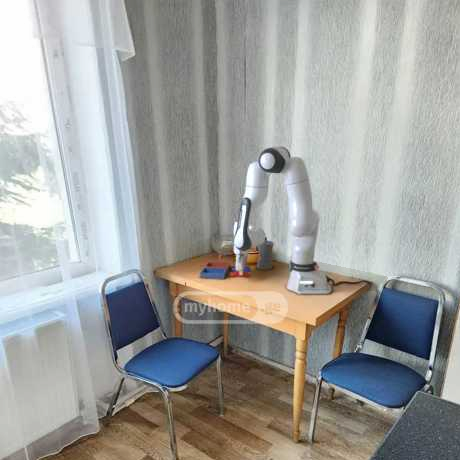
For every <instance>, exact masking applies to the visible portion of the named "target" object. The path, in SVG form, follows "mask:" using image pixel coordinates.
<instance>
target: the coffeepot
mask: <svg viewBox="0 0 460 460" xmlns="http://www.w3.org/2000/svg"><path fill="white" fill-rule="evenodd" d="M255 248H256V252H257V251H258V252H259V253H258V252H257V253H258V259H257V264H256V268H257V269H259V270H262V271H263V270H264V271H267V270H271V269H272V268H273V260H272V254H273V250H274V249H273V248H274V242H273V241H272V240H268V237H266V236H265V242H264V243H263V244H261V245H259V246H256V247H255Z"/></svg>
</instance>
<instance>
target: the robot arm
mask: <svg viewBox="0 0 460 460" xmlns="http://www.w3.org/2000/svg"><path fill="white" fill-rule="evenodd" d="M291 156H292V155H291V153H290V151H289V150H288V149H287V148H286V147H284V146H271V147H267V148H264V150H262V151H261V152H260V154H259V157H258V160H256V161H253V162H251V163H250V164H249V165H248V168H247V173H246V179H245V180H246V181H245V191H244V195H243V198H242V200H241V201H240V205H239V211H238V217H237V219H236V221H235V222H234V225H233V253H234V254H235V256H236V257H235V268H236V271H239V275H243V271H244V266H246V264H247V261H248V258H249V254H250V253H251V249H254V248H256V246H259V245H261V244H263V243H264V242H265V237H266V233H265V231H264V230H263V229H262V228H261V227H258V226H256V225H254V224H253V223H252V222H251V217H252V214H253V212H254V211H255V210H256V209H257V208H259V206H261V205H262V204H263V203H264V202H265V201H266V200H267V198H268V194H269V185H270V184H269V182H270V176H271V174H281V175H282V176H283V179H284V184H285V189H286V194H287V200H288V208H289V210H288V211H289V229H290V233H291V234H292V235H293V241H292V246H291V260H290V262H289V277H288V280H287V284H286V289H287V290H289V291H292V292H294V293H296V294H298V295H328V294H330V293H331V292H332V286H331V284H330V282H332V285H333V286H338V285H340V284H349V285H355V284H356V285H357V284H360V283H367V284H368V285H369V284H371V283H370V281H368V280H366V279H364V280H363V279H362V280H359V281H345V280H342V281H338V282H337V283H335V280H334V279H332V278H330V276H328V275H325V274H324V273H323V272H322V271H321V270H319V267H320V266H319V265H318V262H317V261H315V253H316V252H315V251H316V244H317V240H318V239H317V238H318V232H319V226H320V215H319V213H318V212H317V211H316V210H315V209H313V192H312V187H311V183H310V176H309V173H308V169H307V167H306V164H305V161H304V160H303V158H301V157H299V156H292V157H291Z"/></svg>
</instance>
